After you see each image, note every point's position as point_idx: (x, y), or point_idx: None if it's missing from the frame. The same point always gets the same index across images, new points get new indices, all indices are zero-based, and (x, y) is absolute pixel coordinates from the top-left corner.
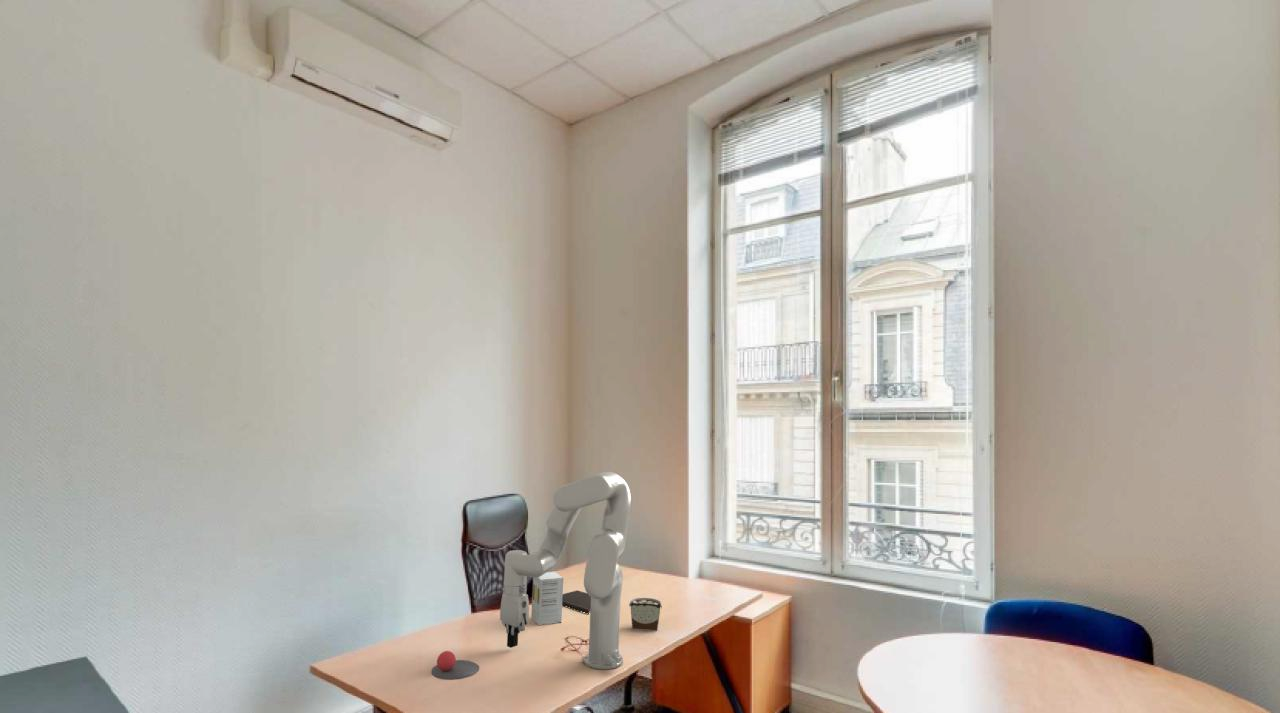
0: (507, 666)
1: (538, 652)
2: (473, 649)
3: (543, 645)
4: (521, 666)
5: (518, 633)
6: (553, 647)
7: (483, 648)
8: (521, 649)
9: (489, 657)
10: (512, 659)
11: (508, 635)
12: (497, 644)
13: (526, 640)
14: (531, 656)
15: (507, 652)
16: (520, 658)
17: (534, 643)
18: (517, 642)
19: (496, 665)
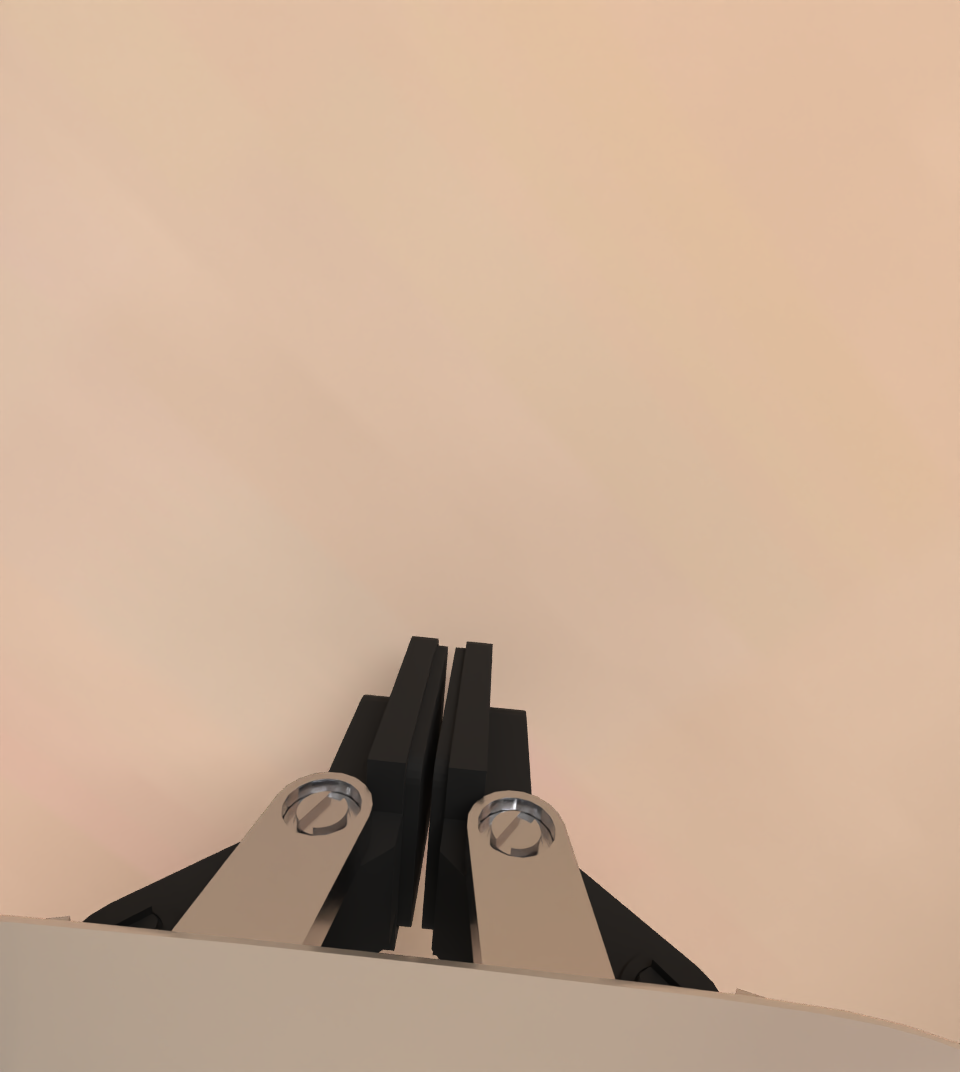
0: None
1: (823, 479)
2: (72, 898)
3: (703, 167)
4: (904, 932)
5: (549, 830)
6: (930, 112)
7: (121, 818)
8: (522, 552)
9: (406, 950)
10: (670, 855)
11: (397, 933)
12: (117, 625)
13: (285, 190)
14: (824, 654)
15: None
16: (735, 782)
17: (503, 206)
18: (490, 664)
19: None
